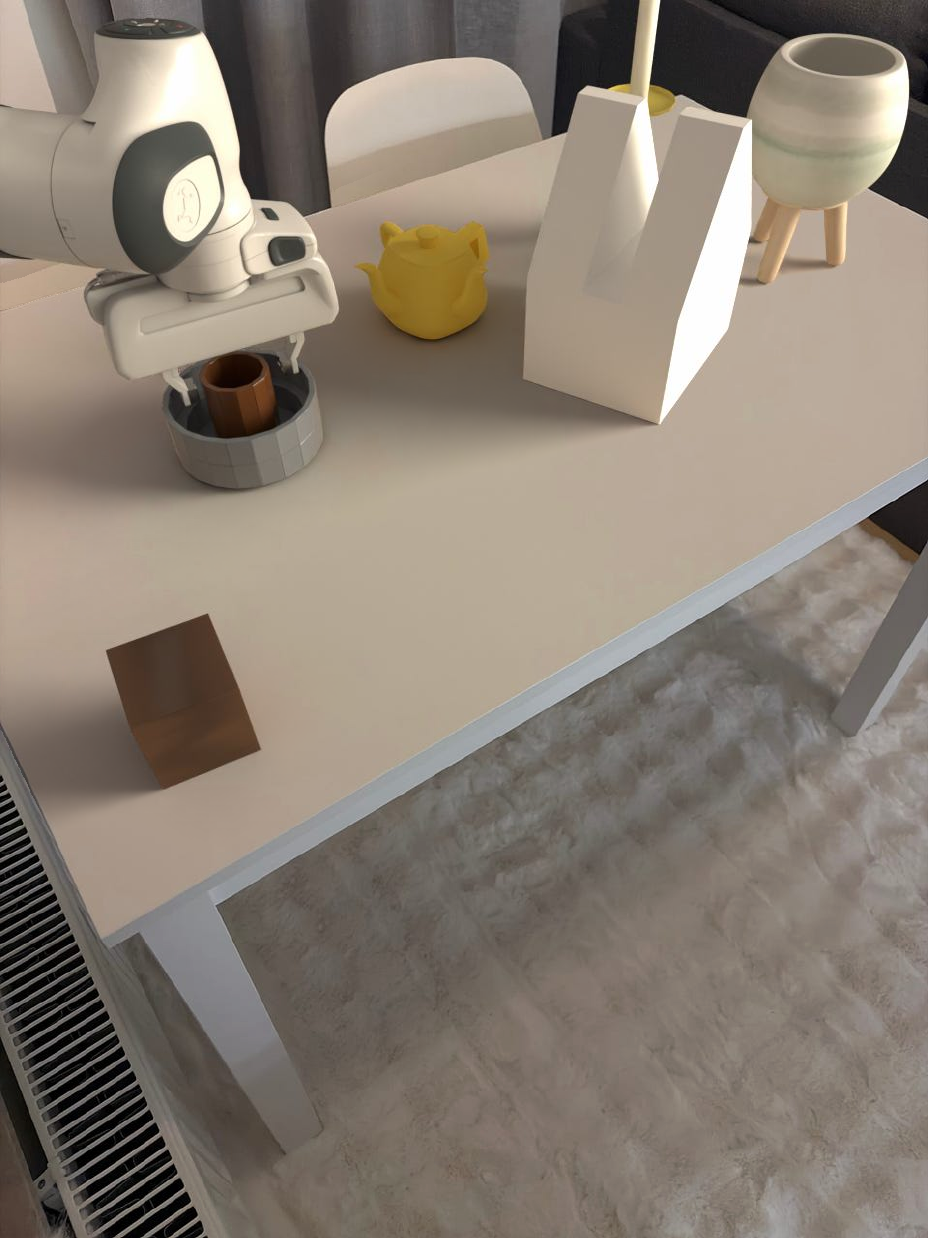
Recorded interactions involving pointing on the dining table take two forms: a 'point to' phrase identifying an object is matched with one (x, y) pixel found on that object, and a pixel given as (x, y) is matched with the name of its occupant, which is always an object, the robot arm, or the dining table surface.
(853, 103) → the planter
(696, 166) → the white v-notched block
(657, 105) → the candle
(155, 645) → the stand
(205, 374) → the cup
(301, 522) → the dining table surface
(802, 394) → the dining table surface
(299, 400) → the grey round tub
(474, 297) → the teapot
